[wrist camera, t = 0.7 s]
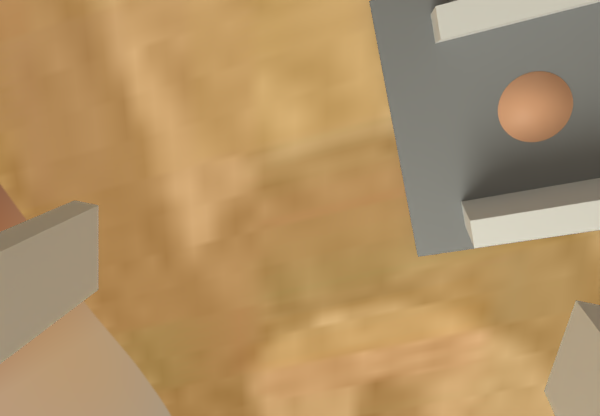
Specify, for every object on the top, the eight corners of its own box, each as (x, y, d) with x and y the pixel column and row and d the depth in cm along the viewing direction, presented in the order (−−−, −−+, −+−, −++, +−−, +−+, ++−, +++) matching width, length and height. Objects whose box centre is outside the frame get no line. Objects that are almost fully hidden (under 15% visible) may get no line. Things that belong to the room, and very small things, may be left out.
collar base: (369, 2, 35) (364, -10, 30) (681, -86, 31) (743, -120, 25) (417, 253, 40) (420, 282, 35) (695, 211, 35) (750, 238, 30)
